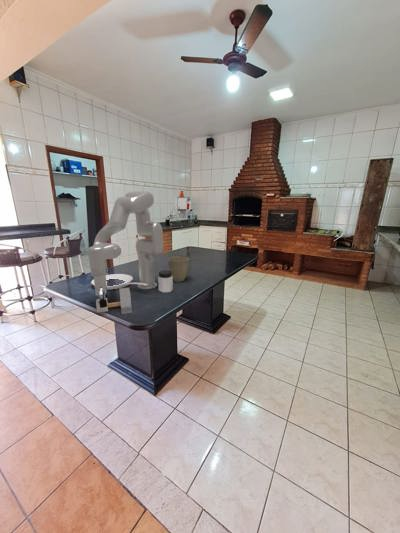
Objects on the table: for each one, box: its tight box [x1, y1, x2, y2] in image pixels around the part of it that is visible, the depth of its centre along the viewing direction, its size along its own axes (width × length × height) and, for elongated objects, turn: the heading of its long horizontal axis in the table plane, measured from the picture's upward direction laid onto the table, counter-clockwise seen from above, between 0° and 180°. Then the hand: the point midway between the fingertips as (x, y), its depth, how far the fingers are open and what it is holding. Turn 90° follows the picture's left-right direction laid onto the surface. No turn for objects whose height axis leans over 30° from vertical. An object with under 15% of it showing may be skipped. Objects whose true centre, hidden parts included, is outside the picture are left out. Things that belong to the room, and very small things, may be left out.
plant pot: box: [167, 256, 190, 283], centre depth 157 cm, size 15×15×16 cm
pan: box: [90, 273, 148, 291], centre depth 145 cm, size 26×44×6 cm, turn 60°
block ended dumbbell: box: [95, 297, 132, 313], centre depth 114 cm, size 4×16×6 cm, turn 111°
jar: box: [157, 270, 174, 293], centre depth 139 cm, size 9×8×12 cm
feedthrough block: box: [118, 287, 133, 315], centre depth 116 cm, size 16×5×9 cm, turn 21°
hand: (103, 303), depth 113 cm, fingers open, 9 cm apart
